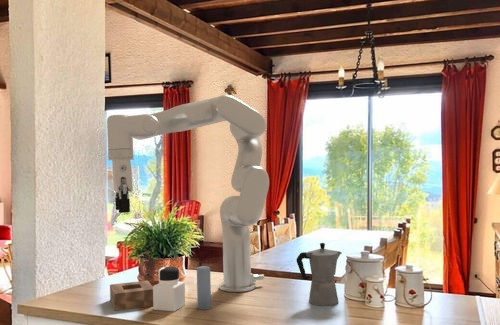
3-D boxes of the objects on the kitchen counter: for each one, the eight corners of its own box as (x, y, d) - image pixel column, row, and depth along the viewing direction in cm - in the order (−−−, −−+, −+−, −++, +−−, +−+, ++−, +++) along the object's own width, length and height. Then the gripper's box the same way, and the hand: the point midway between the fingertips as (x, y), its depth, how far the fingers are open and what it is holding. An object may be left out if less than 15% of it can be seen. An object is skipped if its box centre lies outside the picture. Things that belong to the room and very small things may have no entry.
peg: (208, 305, 145) (207, 265, 145) (212, 308, 142) (211, 268, 142) (196, 306, 144) (195, 267, 144) (199, 310, 140) (198, 269, 140)
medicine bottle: (185, 304, 146) (184, 265, 146) (174, 312, 139) (173, 270, 139) (164, 303, 148) (164, 264, 148) (152, 310, 142) (152, 269, 142)
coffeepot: (334, 295, 153) (333, 239, 153) (350, 303, 144) (349, 243, 145) (291, 300, 148) (289, 242, 148) (304, 309, 139) (303, 247, 139)
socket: (147, 295, 157) (147, 280, 157) (155, 305, 146) (154, 289, 146) (110, 300, 153) (109, 284, 153) (114, 310, 142) (114, 293, 142)
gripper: (137, 154, 140) (139, 212, 140) (129, 155, 156) (131, 207, 156) (110, 155, 137) (112, 214, 137) (105, 156, 153) (107, 209, 154)
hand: (122, 211), depth 147 cm, fingers open, 9 cm apart
